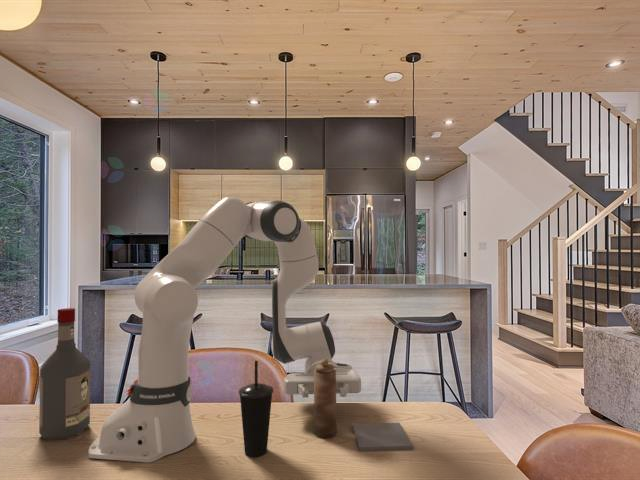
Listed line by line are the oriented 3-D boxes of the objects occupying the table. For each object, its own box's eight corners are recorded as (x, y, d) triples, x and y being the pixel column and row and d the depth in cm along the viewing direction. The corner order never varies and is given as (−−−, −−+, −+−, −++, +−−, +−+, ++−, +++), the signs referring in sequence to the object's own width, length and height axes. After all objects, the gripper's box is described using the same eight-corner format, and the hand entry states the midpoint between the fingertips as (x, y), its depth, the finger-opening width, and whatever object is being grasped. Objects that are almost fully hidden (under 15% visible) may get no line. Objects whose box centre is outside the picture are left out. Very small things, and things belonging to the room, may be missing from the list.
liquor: (33, 440, 95) (35, 312, 96) (57, 423, 104) (58, 306, 105) (73, 439, 95) (74, 312, 96) (93, 423, 105) (94, 306, 105)
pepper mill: (315, 438, 96) (314, 362, 96) (313, 428, 101) (313, 356, 102) (337, 437, 96) (336, 361, 96) (335, 427, 101) (334, 355, 102)
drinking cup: (266, 462, 85) (266, 367, 85) (232, 458, 87) (233, 364, 87) (277, 445, 93) (277, 357, 93) (246, 442, 94) (246, 355, 94)
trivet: (359, 450, 90) (359, 447, 90) (352, 427, 102) (352, 423, 102) (413, 449, 91) (412, 445, 91) (399, 425, 103) (399, 422, 103)
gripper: (284, 365, 114) (282, 381, 100) (356, 364, 115) (364, 380, 101) (283, 388, 113) (282, 407, 100) (356, 386, 115) (364, 405, 101)
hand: (324, 394), depth 100 cm, fingers open, 8 cm apart
